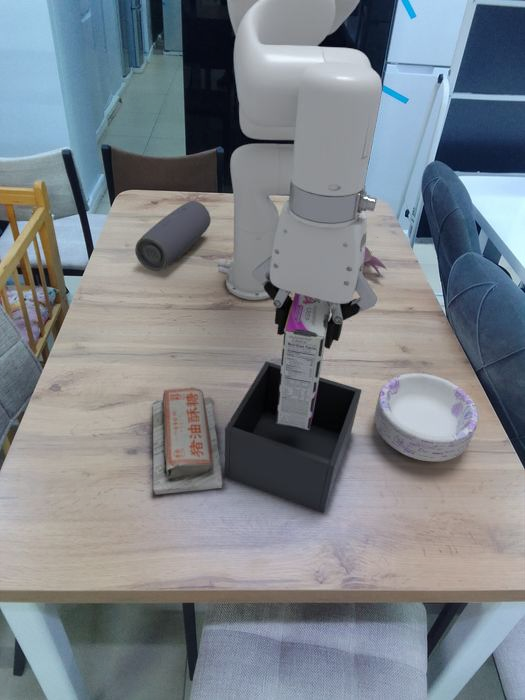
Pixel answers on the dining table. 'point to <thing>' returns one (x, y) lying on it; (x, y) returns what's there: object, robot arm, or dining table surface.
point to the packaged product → (184, 443)
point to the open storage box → (290, 441)
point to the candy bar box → (302, 360)
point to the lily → (372, 260)
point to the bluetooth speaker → (172, 236)
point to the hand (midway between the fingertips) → (306, 334)
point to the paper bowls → (425, 417)
